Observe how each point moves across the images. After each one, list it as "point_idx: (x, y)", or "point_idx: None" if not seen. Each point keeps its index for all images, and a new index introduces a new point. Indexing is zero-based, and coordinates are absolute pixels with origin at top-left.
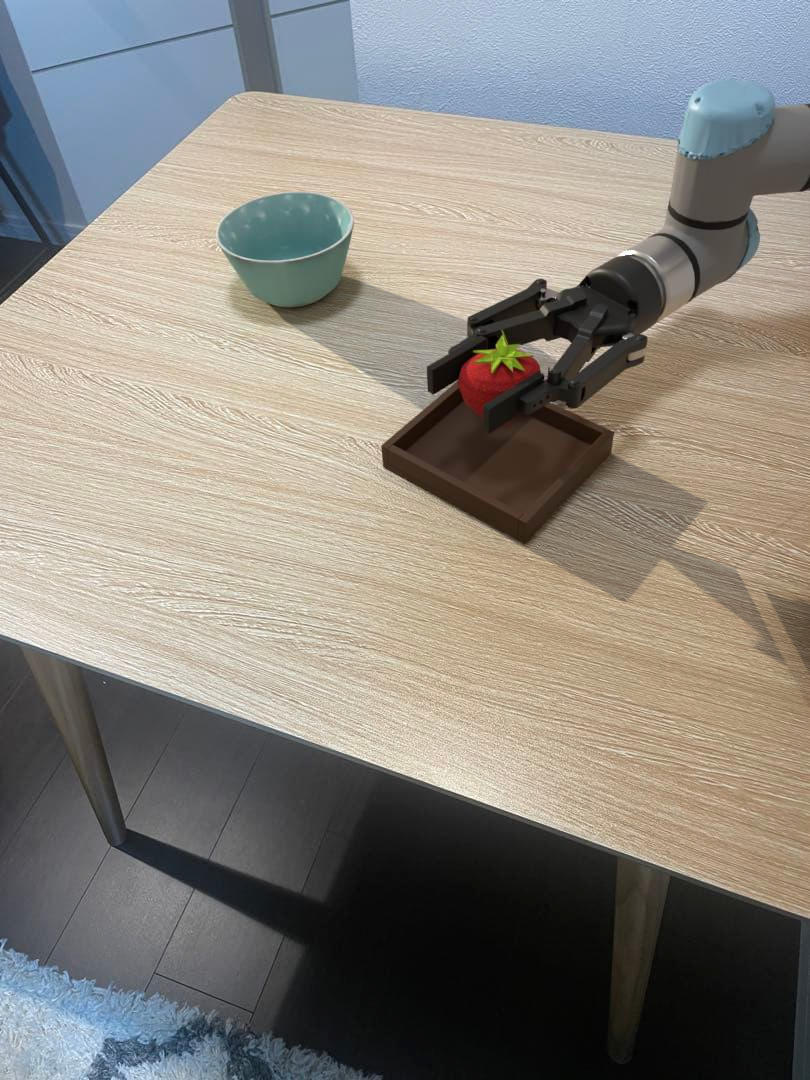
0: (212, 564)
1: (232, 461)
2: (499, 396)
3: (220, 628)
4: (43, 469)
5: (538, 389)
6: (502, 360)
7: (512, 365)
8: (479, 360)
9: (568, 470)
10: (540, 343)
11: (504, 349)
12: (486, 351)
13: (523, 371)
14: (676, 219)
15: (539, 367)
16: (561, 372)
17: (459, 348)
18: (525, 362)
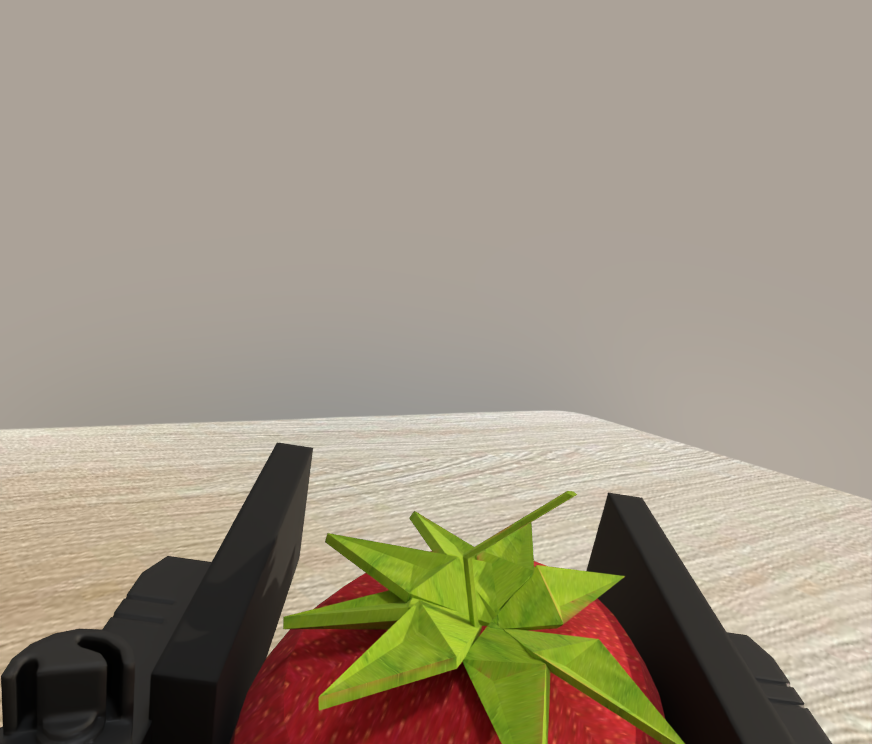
0: (536, 496)
1: (765, 615)
2: (289, 485)
3: (429, 456)
4: (830, 503)
5: (149, 646)
6: (436, 557)
7: (380, 602)
8: (523, 528)
9: None
10: None
11: (522, 640)
12: (576, 596)
13: (313, 664)
14: None
15: None
16: (2, 686)
17: (709, 613)
18: (357, 719)
